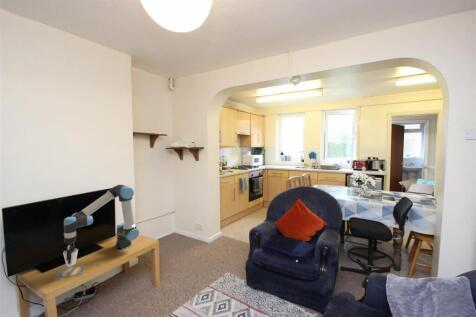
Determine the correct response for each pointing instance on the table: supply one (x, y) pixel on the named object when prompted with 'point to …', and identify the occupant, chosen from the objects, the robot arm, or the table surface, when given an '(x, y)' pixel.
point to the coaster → (71, 272)
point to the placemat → (66, 269)
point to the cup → (73, 256)
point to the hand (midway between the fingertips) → (71, 264)
